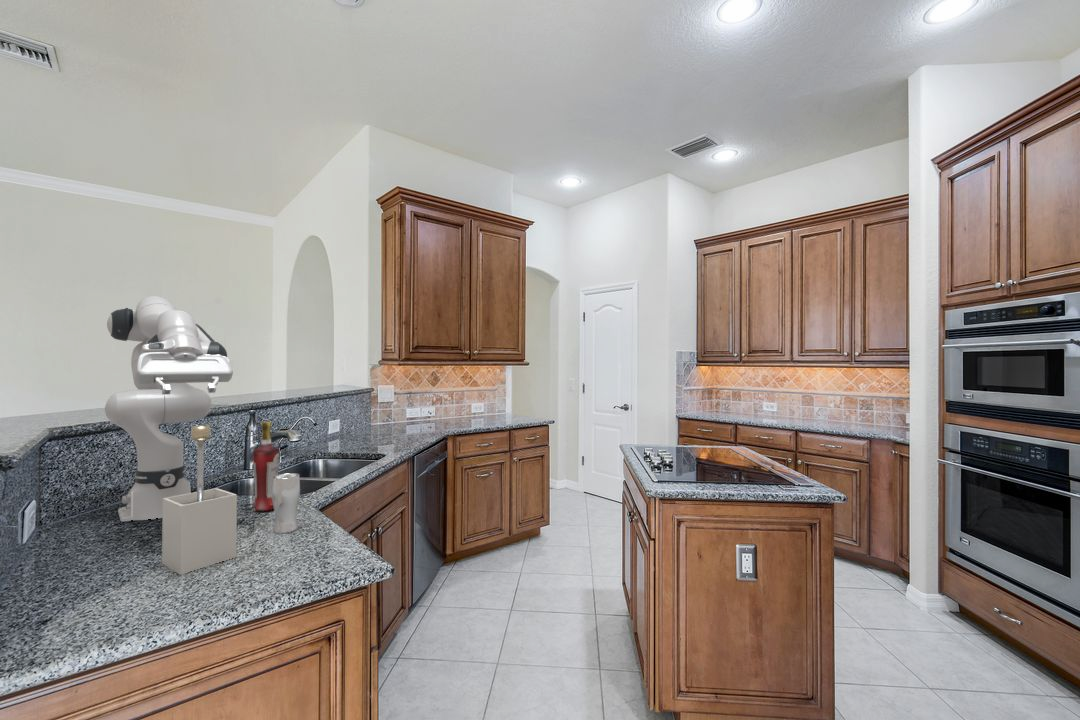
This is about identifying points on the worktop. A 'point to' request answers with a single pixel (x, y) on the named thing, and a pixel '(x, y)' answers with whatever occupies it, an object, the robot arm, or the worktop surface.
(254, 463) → the liquor
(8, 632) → the worktop surface
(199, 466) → the plunger
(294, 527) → the beer glass
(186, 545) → the beige open box
